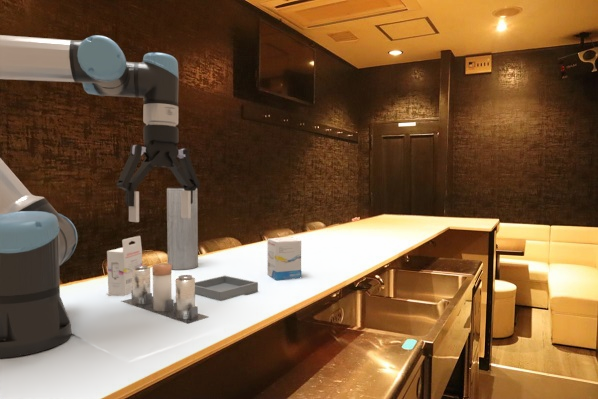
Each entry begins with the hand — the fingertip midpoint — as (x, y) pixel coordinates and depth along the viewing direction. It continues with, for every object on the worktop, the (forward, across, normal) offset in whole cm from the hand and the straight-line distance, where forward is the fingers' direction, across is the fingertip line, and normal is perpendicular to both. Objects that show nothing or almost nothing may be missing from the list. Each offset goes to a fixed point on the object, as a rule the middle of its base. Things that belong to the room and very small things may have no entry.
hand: (161, 219), depth 97 cm
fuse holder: (+21, 0, 0) cm, 21 cm away
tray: (+20, +19, 0) cm, 28 cm away
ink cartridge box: (+21, +3, +20) cm, 29 cm away
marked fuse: (+20, 0, 0) cm, 20 cm away
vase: (+21, +34, +36) cm, 53 cm away
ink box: (+20, +44, 0) cm, 48 cm away
